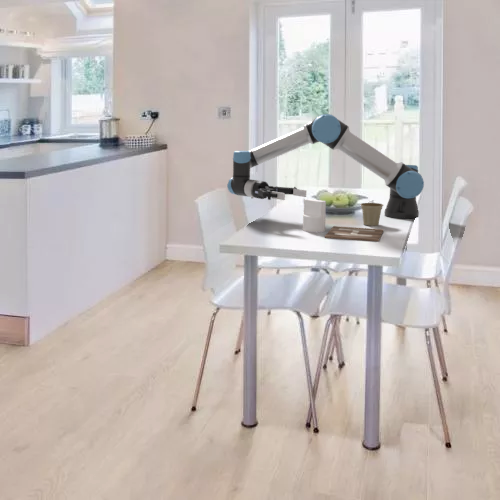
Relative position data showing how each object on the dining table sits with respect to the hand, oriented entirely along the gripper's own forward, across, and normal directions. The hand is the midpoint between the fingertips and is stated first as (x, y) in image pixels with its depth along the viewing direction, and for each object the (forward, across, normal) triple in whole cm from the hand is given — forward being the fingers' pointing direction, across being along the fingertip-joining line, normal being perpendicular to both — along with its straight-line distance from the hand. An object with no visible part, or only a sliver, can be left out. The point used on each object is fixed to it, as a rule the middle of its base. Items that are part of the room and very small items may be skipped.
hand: (295, 195), depth 256 cm
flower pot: (+20, -27, -13) cm, 35 cm away
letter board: (+27, -5, -13) cm, 30 cm away
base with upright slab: (+10, 0, -13) cm, 17 cm away
